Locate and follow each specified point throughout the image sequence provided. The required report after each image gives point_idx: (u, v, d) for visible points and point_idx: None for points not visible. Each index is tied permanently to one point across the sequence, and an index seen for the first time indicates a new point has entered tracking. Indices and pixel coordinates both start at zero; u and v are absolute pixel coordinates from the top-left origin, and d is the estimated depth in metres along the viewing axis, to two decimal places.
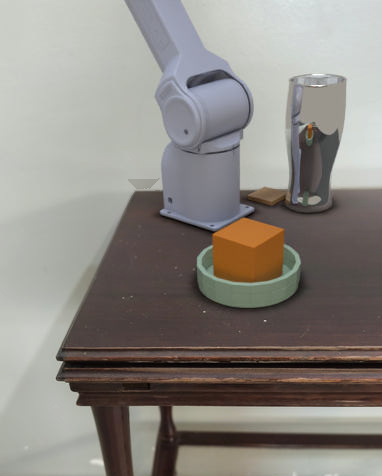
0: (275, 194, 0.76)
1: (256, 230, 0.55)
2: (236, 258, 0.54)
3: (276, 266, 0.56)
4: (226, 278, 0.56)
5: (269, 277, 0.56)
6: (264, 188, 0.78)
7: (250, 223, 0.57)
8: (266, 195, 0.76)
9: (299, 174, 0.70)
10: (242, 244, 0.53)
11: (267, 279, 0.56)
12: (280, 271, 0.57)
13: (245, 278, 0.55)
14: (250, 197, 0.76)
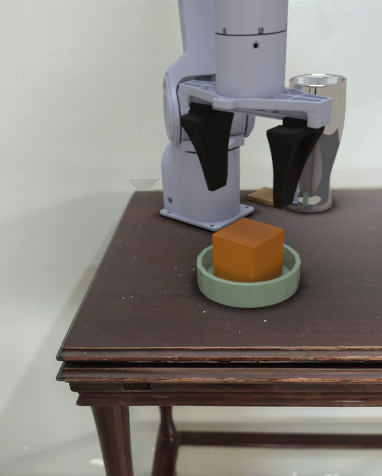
0: None
1: (256, 230, 0.55)
2: (236, 258, 0.54)
3: (276, 266, 0.56)
4: (226, 278, 0.56)
5: (269, 277, 0.56)
6: (264, 188, 0.78)
7: (250, 223, 0.57)
8: (266, 195, 0.76)
9: None
10: (242, 244, 0.53)
11: (267, 279, 0.56)
12: (280, 271, 0.57)
13: (245, 278, 0.55)
14: (250, 197, 0.76)
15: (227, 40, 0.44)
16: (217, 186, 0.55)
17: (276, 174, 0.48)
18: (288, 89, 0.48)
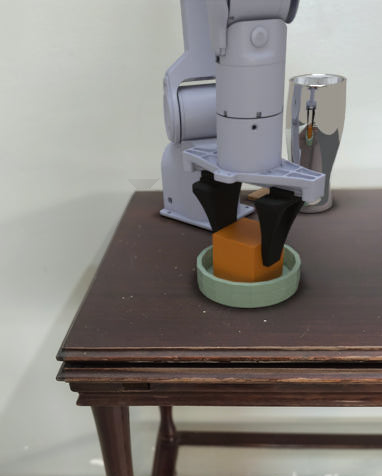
0: None
1: (256, 230, 0.55)
2: (236, 258, 0.54)
3: (276, 266, 0.56)
4: (226, 278, 0.56)
5: (269, 277, 0.56)
6: (264, 188, 0.78)
7: (250, 223, 0.57)
8: None
9: None
10: (242, 244, 0.53)
11: (267, 279, 0.56)
12: (280, 271, 0.57)
13: (245, 278, 0.55)
14: (250, 197, 0.76)
15: (228, 121, 0.47)
16: None
17: (264, 237, 0.52)
18: (284, 161, 0.51)
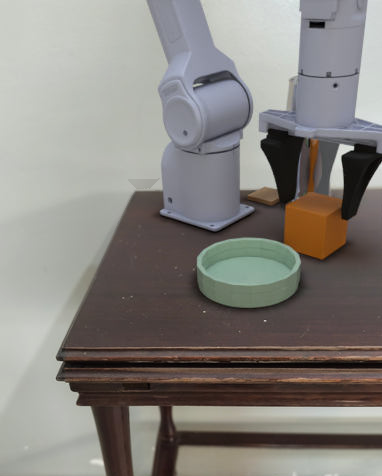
0: (275, 194, 0.76)
1: (325, 202, 0.61)
2: (308, 227, 0.61)
3: (341, 235, 0.63)
4: (296, 246, 0.63)
5: (335, 245, 0.62)
6: (264, 188, 0.78)
7: (318, 196, 0.63)
8: (266, 195, 0.76)
9: (299, 174, 0.70)
10: (314, 214, 0.59)
11: (334, 246, 0.62)
12: (343, 239, 0.64)
13: (315, 244, 0.61)
14: (250, 197, 0.76)
15: (311, 80, 0.53)
16: (288, 199, 0.63)
17: (346, 191, 0.57)
18: (357, 119, 0.56)
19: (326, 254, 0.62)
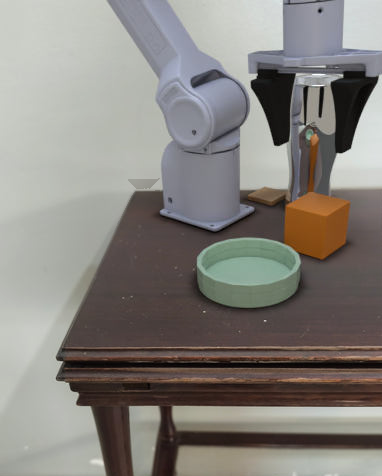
0: (275, 194, 0.76)
1: (325, 202, 0.61)
2: (308, 227, 0.61)
3: (341, 235, 0.63)
4: (296, 246, 0.63)
5: (335, 245, 0.62)
6: (264, 188, 0.78)
7: (318, 196, 0.63)
8: (266, 195, 0.76)
9: (299, 174, 0.70)
10: (314, 214, 0.59)
11: (334, 246, 0.62)
12: (343, 239, 0.64)
13: (315, 244, 0.61)
14: (250, 197, 0.76)
15: (295, 8, 0.53)
16: (282, 141, 0.63)
17: (338, 121, 0.56)
18: (345, 49, 0.56)
19: (326, 254, 0.62)
